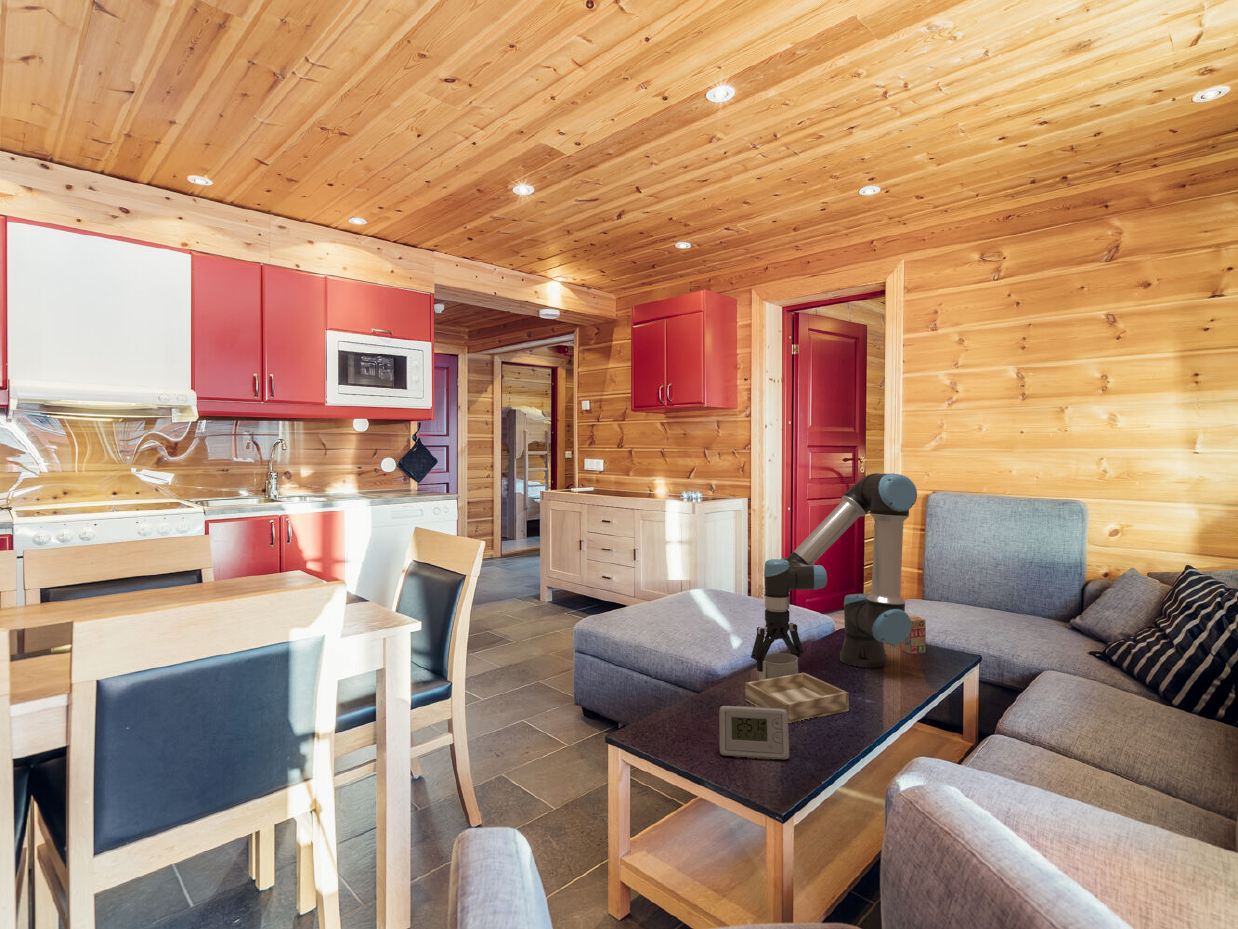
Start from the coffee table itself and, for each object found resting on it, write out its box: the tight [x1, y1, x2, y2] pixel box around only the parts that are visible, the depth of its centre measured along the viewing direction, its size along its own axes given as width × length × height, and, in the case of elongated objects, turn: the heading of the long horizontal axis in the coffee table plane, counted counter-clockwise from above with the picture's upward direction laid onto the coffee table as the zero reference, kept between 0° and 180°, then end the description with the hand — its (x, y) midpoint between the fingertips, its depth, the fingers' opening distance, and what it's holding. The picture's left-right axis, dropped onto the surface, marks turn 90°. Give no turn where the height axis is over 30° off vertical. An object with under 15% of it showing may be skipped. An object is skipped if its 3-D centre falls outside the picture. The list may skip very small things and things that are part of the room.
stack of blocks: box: [891, 612, 927, 655], centre depth 236 cm, size 21×6×12 cm, turn 12°
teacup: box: [763, 651, 799, 679], centre depth 201 cm, size 14×11×8 cm
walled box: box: [744, 672, 850, 724], centre depth 180 cm, size 21×19×5 cm
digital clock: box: [718, 705, 790, 761], centre depth 151 cm, size 16×9×11 cm, turn 68°
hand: (777, 679), depth 200 cm, fingers closed on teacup, 11 cm apart
